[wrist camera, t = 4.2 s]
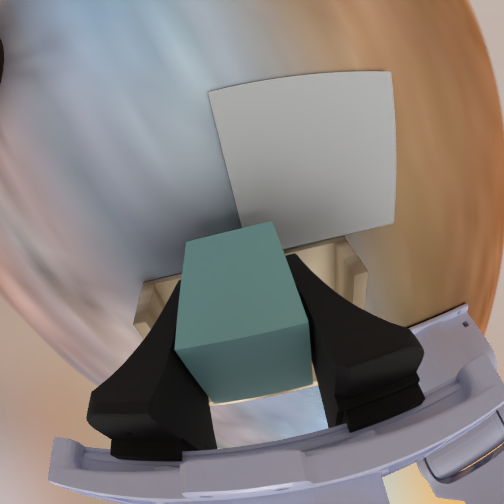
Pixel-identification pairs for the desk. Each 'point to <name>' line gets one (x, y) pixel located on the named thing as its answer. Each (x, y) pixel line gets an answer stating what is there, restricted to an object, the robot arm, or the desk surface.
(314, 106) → the pad
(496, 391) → the robot arm
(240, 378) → the block
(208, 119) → the desk surface
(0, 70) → the coffee mug
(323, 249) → the tan shallow tray
